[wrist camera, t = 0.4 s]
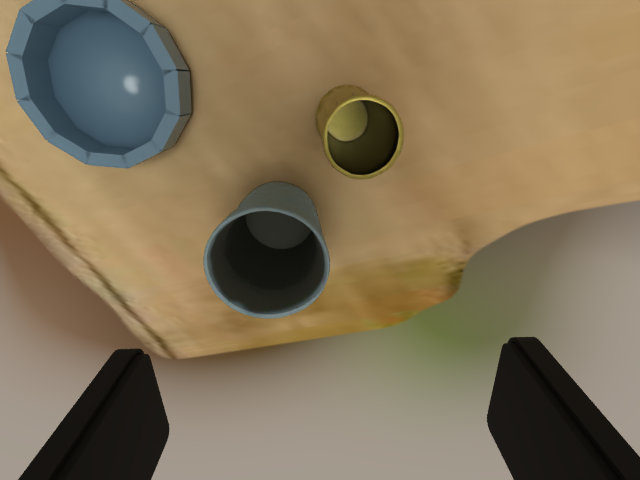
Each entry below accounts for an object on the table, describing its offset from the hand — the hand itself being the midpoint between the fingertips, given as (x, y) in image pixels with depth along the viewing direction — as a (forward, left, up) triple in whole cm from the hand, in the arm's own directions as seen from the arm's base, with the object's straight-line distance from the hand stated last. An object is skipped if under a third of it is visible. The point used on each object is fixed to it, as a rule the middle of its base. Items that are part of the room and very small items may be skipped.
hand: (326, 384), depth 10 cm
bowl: (-5, -20, -30) cm, 37 cm away
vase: (-4, +2, -31) cm, 31 cm away
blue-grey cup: (+7, -4, -31) cm, 32 cm away
